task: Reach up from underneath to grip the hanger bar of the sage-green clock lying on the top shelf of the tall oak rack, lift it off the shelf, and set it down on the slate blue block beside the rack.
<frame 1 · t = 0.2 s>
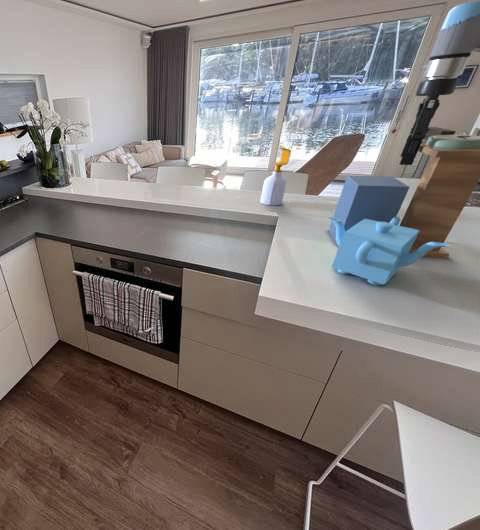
hand: (405, 160, 88), 25 cm above the countertop, tool pointing down, fingers open, 13 cm apart
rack: (406, 245, 92), on the countertop
soap bottle: (270, 203, 134), on the countertop
teakettle: (365, 271, 81), on the countertop
clock: (453, 145, 78), point 30 cm above the countertop, touching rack
slate blue block: (353, 239, 98), on the countertop
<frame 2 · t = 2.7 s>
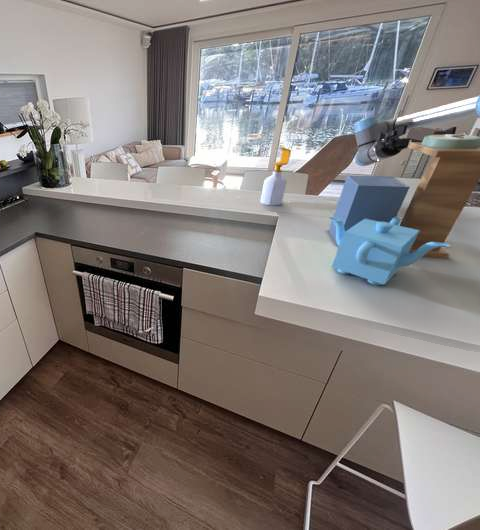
hand: (429, 130, 94), 31 cm above the countertop, tool pointing upward, fingers open, 13 cm apart
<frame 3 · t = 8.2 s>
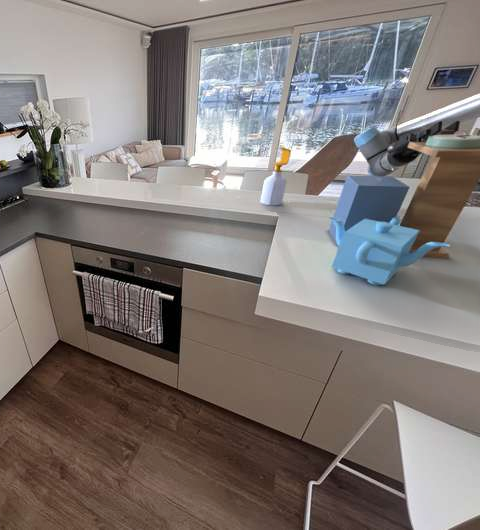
hand: (448, 126, 81), 34 cm above the countertop, tool pointing upward, fingers closed on clock, 3 cm apart
clock: (453, 145, 78), point 30 cm above the countertop, touching gripper
everything else where it was.
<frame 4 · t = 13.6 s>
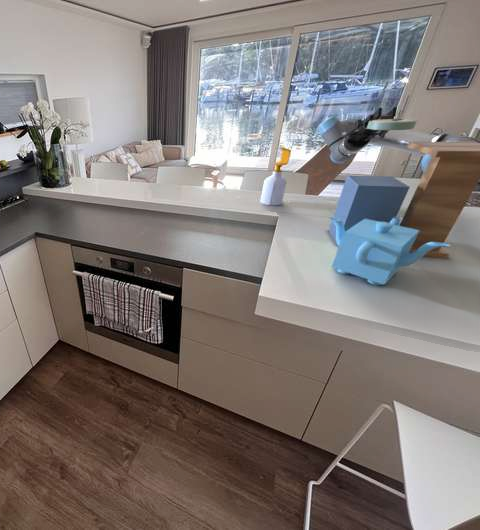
hand: (387, 111, 90), 38 cm above the countertop, tool pointing upward, fingers closed on clock, 3 cm apart
clock: (389, 128, 88), point 34 cm above the countertop, touching gripper
everything else where it was.
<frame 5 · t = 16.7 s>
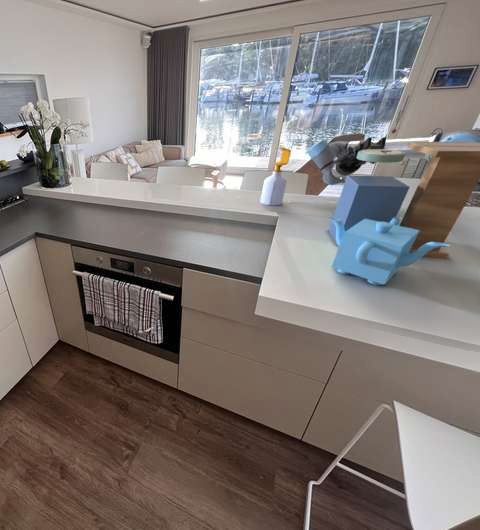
hand: (376, 141, 90), 30 cm above the countertop, tool pointing upward, fingers closed on clock, 3 cm apart
clock: (378, 159, 88), point 26 cm above the countertop, touching gripper
everything else where it was.
when the fingers open (24 cm above the countertop, at t = 18.8 s): clock stays where it is, resting on slate blue block.
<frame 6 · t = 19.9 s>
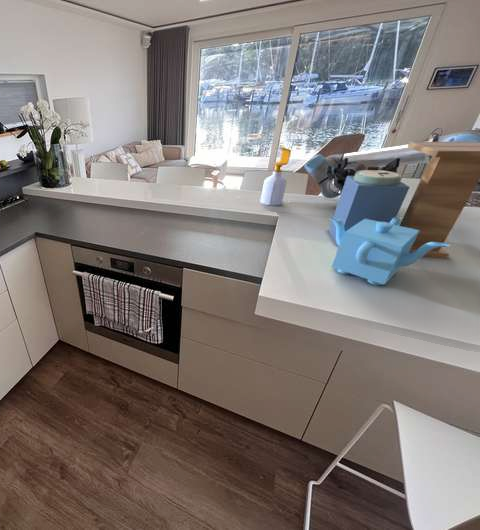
hand: (371, 162, 92), 24 cm above the countertop, tool pointing upward, fingers open, 13 cm apart
clock: (375, 180, 88), point 20 cm above the countertop, touching slate blue block
everything else where it was.
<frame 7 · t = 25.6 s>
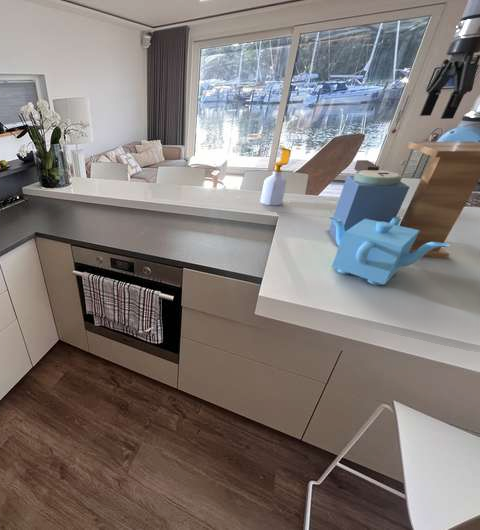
hand: (435, 117, 96), 35 cm above the countertop, tool pointing down, fingers open, 13 cm apart
nothing on the countertop moved.
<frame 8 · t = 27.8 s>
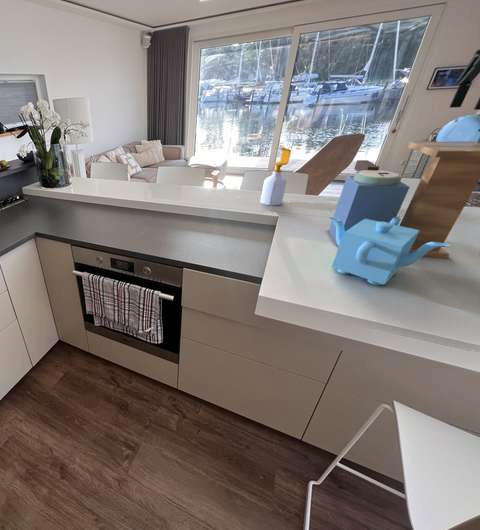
hand: (466, 108, 95), 37 cm above the countertop, tool pointing down, fingers open, 13 cm apart
nothing on the countertop moved.
at the end: clock 0.2 cm off-centre on the slate blue block, point 20.0 cm above the slate blue block's base; clock tilted 0°; the gripper is holding nothing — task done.
